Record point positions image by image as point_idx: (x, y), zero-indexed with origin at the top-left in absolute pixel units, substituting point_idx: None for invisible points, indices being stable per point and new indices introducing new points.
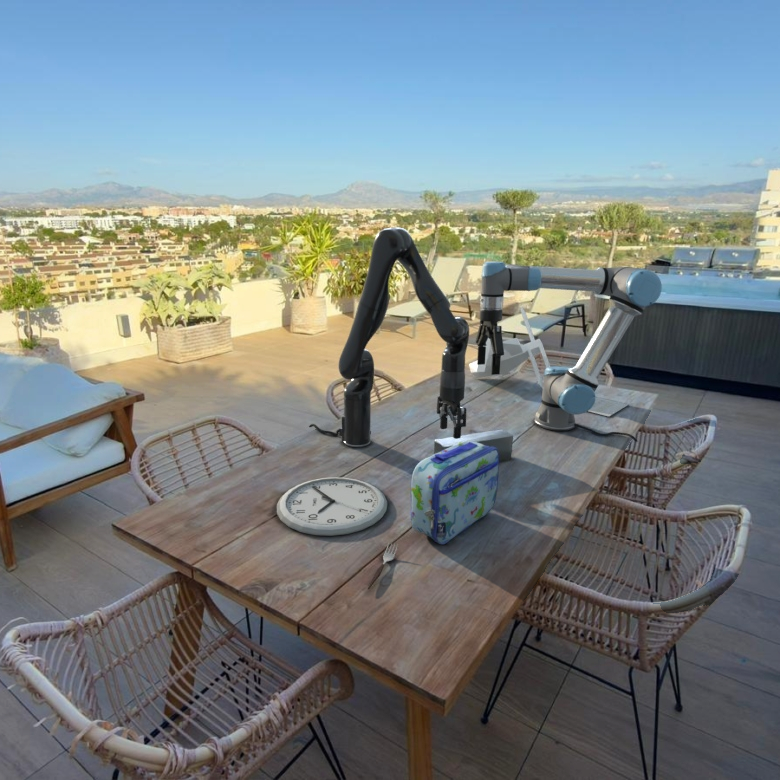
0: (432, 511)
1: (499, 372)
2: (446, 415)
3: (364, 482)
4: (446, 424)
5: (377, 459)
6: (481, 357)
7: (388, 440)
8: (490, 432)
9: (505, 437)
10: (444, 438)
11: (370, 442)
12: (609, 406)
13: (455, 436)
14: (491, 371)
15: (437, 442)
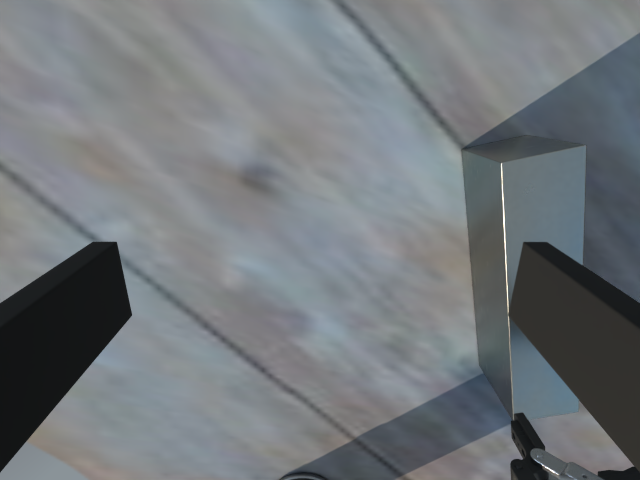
0: None
1: (557, 251)
2: (548, 458)
3: None
4: (529, 425)
5: (413, 470)
6: (79, 330)
7: (300, 433)
8: (520, 228)
9: (584, 184)
10: (515, 394)
11: (312, 474)
12: None
13: None
14: (525, 331)
15: (533, 417)
